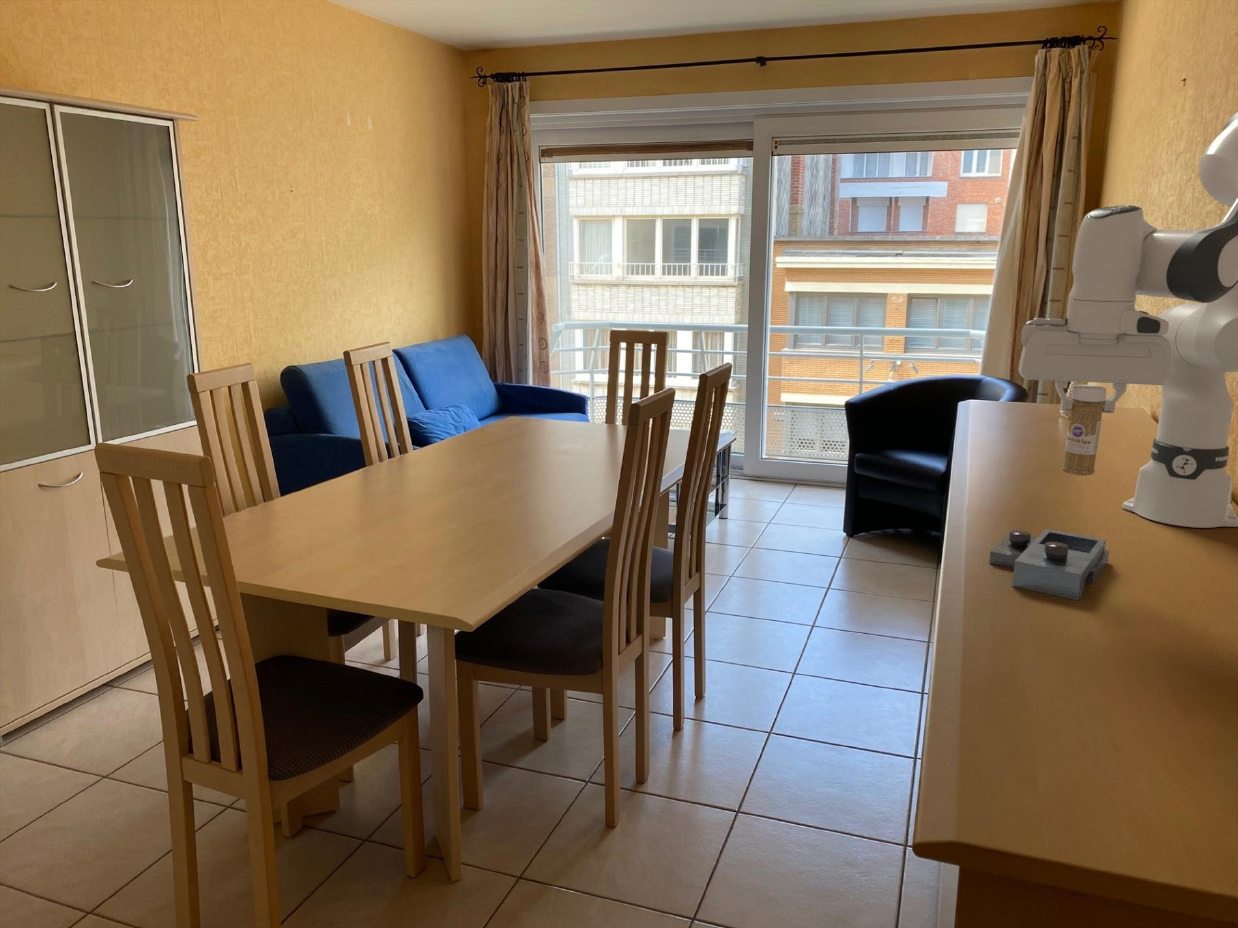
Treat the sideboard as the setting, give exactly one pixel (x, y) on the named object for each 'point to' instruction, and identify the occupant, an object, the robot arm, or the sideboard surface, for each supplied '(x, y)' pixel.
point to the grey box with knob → (1057, 563)
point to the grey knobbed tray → (1021, 541)
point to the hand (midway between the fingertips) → (1086, 411)
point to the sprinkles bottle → (1084, 429)
